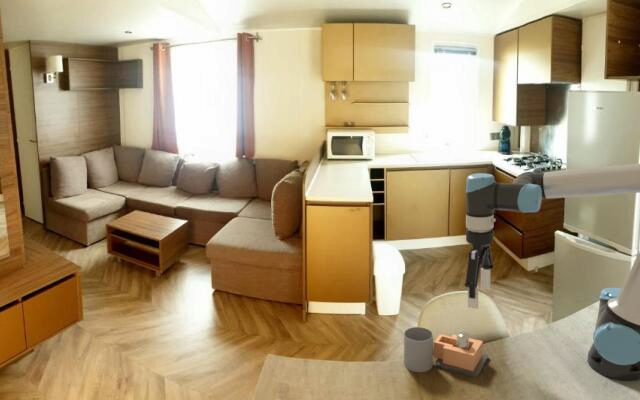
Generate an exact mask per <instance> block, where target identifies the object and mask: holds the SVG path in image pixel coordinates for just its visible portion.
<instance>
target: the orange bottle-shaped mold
mask: <svg viewBox="0 0 640 400" xmlns="http://www.w3.org/2000/svg"><path fill="white" fill-rule="evenodd" d="M483 343H484V341H483V340H481V339H480V340H479V339H475V338H471V337H469V350H465V349H461V348H457V347H456V346H457V334H452V335H451V336H450V335H446V334H442V333H440V334H439V335H438V336H437V337H436V338H435V340H433V358H436V359H438V360H439V359H443V363H445V364H449V365H452V366H456V367H460V368H463V369H467V370H471V371H473V370H474V369H475V367H476V366H477V364H478V362H479V361H480V359H481V358H482V354H483V345H484V344H483Z"/></svg>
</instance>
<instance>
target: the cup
mask: <svg viewBox="0 0 640 400" xmlns="http://www.w3.org/2000/svg"><path fill="white" fill-rule="evenodd" d="M433 361H434V333H433V332H432V330H430V329H428V328H426V327H421V326H416V327H415V326H413V327H409V328H407V329H406V330H404V332H403V363H404V364H403V366H404V367H405V368H406V369H407V370H409V371H411V372H415V373H425V372H428V371H430V370H431V369H432V368H433V365H434V362H433Z"/></svg>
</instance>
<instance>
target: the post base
mask: <svg viewBox="0 0 640 400" xmlns="http://www.w3.org/2000/svg"><path fill="white" fill-rule="evenodd" d="M456 335H457V346H456V347H457V348H461V349H465V350H469V338H470V335H469V333H467V332H464V331H463V332H462V331H461V332H457V333H456ZM488 360H489V354H486V353H482V358H481V359H480V361H479V362H478V364H477V366H476V367H475V369H474V370H473V371H471V370H467V369H463V368H460V367H456V366H452V365H449V364H445V363H443V359H439V358H438V360H437V362H436V363H435V368H437V369H442V370H444V371H450V372H453V373H456V374H460V375H463V376H467V377H469V378H470V377H472V378H474V379H477V377H478V376H479V374H480V372H482V369H483V368H484V366H485V364H486V362H487V361H488Z"/></svg>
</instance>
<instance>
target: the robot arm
mask: <svg viewBox="0 0 640 400" xmlns="http://www.w3.org/2000/svg"><path fill="white" fill-rule="evenodd" d="M465 184H466V185H465V205H466V206H465V210H466V211H465V228H466V229H465V241H466V242H467V243H468V244H470V245H472V248H471V250H469V251H468V263H467V269H466V278H465V283H464V287H466V288H467V308H469V309H479V286H478V283H479V277H480V290H485V291H490V290H491V270H492V269H494V264H493V257H492V249H491V244H492V243H494V240H495V239H494V238H495V237H494V236H495V231H494V229H493V228H495V227H494V223H495V222H496V221H497V220H496V218H495V217H494V214H495V210H496V211H505V212H507V211H509V212H517V213H524V214H527V213H537V212H539V211H540V209H541V205H542V200H548V199H562V198H576V197H577V198H579V197H589V196H590V197H591V196H592V197H593V196H607V195H623V194H640V163H632V164H622V165H621V164H620V165H610V166H609V165H607V166H600V167H599V166H598V167H590V168H589V167H588V168H577V169H567V170H556V171H546V172H534V171H525V172H522V173H521V174H518V175H517V176H516V178H515V179H514V180H513V181H512V182H498V181H496V180H495V176H494V175H493V174H490V173H483V172H482V173H479V172H477V173H472V174H470V175H468V176H467V177H466V183H465ZM598 299H599V304H598V305H599V306H598V313H597V319H596V323H595V328H594V329H595V330H594V332H593V335H592V337H593V338H592V339H593V342H592V344H591V346H590V348H589V350H588V352H587V359H586V360H587V363H588V366H589V367H590V368H591V369H593V370H594V371H596V372H597V373H599V374H601V375H603V376H605V377H608V378H611V379H615V380H619V381H636V380H640V251H638V254H637V255H636V258H635V261H634V262H633V264H632V266H631V268H630V271H629V273H628V275H627V277H626V279H625V281H624V283H623V285H622V287H605V288H603V289H602V290H601V292H600V296H599V297H598Z"/></svg>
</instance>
